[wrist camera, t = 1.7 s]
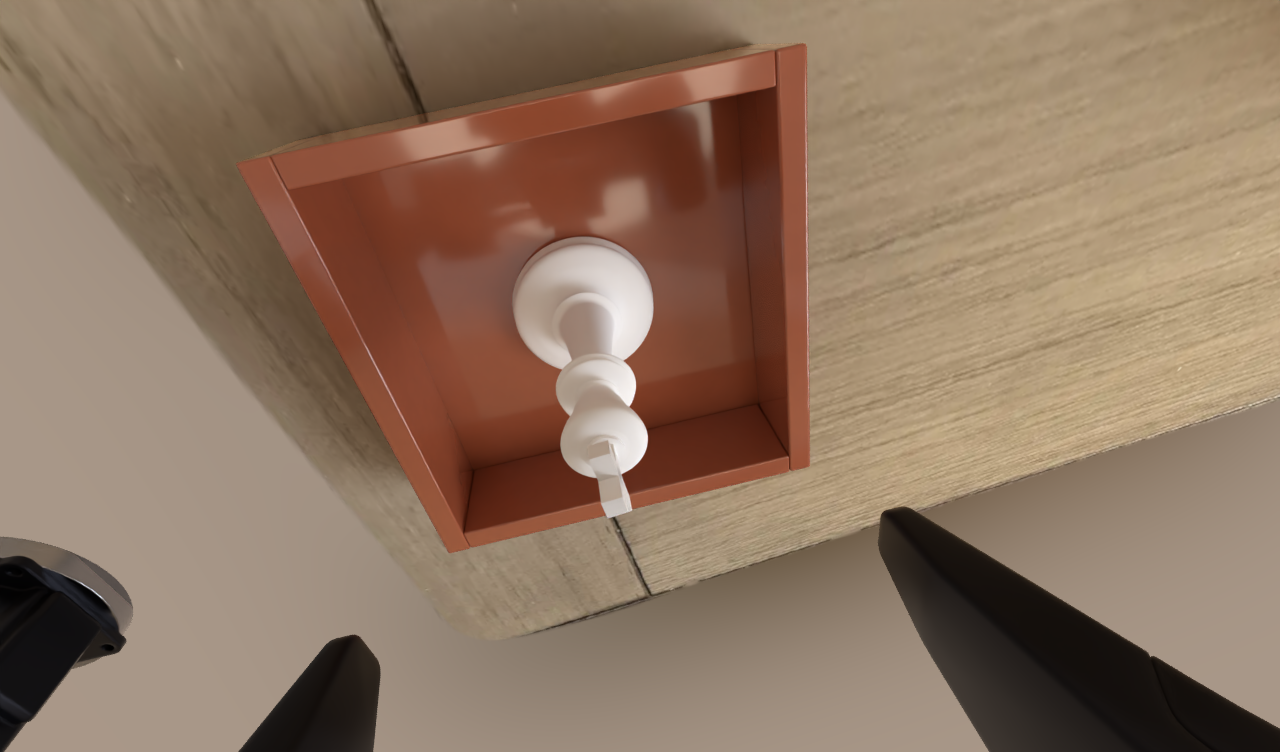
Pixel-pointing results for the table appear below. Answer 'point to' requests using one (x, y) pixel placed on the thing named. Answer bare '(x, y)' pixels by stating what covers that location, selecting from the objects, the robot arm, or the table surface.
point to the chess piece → (590, 351)
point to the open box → (536, 217)
